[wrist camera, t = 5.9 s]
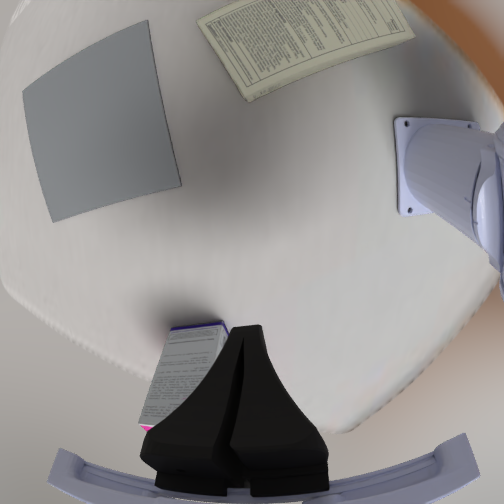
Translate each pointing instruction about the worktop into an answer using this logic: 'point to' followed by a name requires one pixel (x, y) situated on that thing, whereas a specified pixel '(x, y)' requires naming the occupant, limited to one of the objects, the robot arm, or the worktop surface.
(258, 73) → the skincare box
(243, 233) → the worktop surface
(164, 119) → the rubber mat
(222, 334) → the supplement box
